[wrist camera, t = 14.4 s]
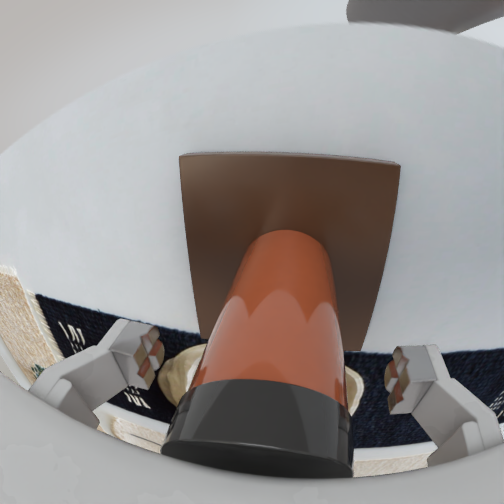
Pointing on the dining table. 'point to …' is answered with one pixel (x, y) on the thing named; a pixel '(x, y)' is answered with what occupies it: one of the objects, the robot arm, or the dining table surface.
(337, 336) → the spice jar
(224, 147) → the dining table surface
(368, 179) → the board
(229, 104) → the dining table surface
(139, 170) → the dining table surface
